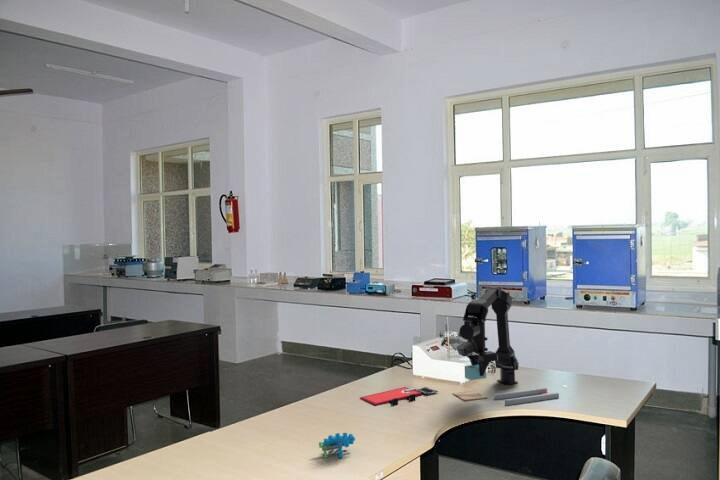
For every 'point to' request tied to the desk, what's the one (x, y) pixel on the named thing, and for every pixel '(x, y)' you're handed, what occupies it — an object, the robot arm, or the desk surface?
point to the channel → (542, 391)
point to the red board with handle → (396, 395)
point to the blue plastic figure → (336, 443)
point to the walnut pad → (469, 395)
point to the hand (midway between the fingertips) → (478, 374)
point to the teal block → (473, 372)
